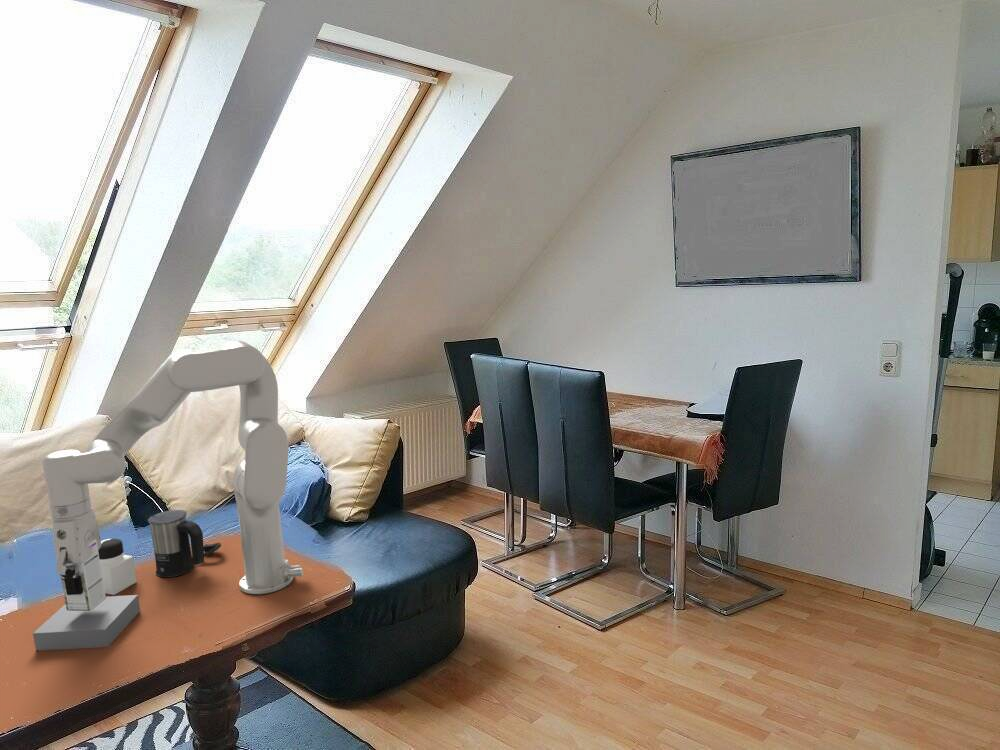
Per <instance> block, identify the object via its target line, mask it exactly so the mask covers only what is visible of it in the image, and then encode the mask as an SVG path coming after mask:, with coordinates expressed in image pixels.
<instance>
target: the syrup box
mask: <svg viewBox="0 0 1000 750" xmlns="http://www.w3.org/2000/svg"><path fill="white" fill-rule="evenodd" d="M92 541H93V542H92ZM92 541H91V543H90V544H89V545H91V544H92V546H91V547H92V556H91V557H89V558H88V559H87V560H86V561H85V562H83V563H82V564H79V565H78V568H79V570H78V576H81V582H82V588H83V593H82V594H80V595H67V593H66V587H65V581H64V579H63V578H62V576H61V575H60V580H61V585H62V590H63V596H64V602H65V604H66V609H67V611H91V610H92V609H94V608H95V607H96V606H98V605H99V604H100V603H101V602H103V601H104V600H105V599H106V597H107V596H106V594H105V590H104V585H103V579H102V573H101V566H100V560H99V553H98V547H97V541H96V539H94V540H92ZM91 547H89V548H91ZM67 563H72V561H71V560H67ZM68 569H70V570H72V571H73V566H68Z"/></svg>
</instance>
